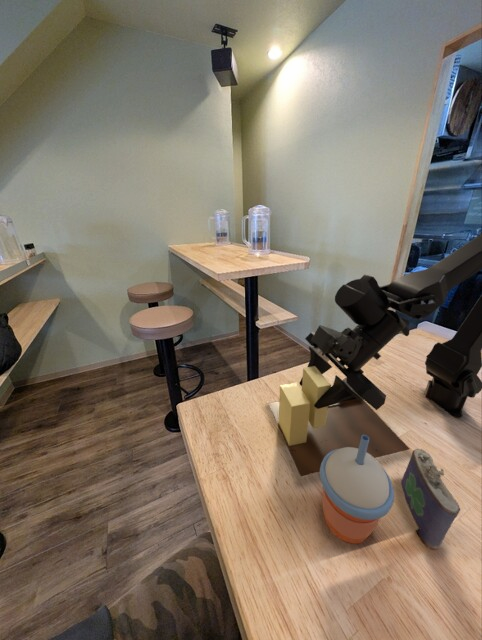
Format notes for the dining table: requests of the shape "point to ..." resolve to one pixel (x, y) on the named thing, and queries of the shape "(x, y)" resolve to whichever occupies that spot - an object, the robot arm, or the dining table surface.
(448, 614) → the dining table surface
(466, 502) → the dining table surface
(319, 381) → the block
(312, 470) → the board
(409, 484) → the flask
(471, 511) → the dining table surface
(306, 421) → the butter block
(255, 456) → the dining table surface
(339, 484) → the cup with straw
